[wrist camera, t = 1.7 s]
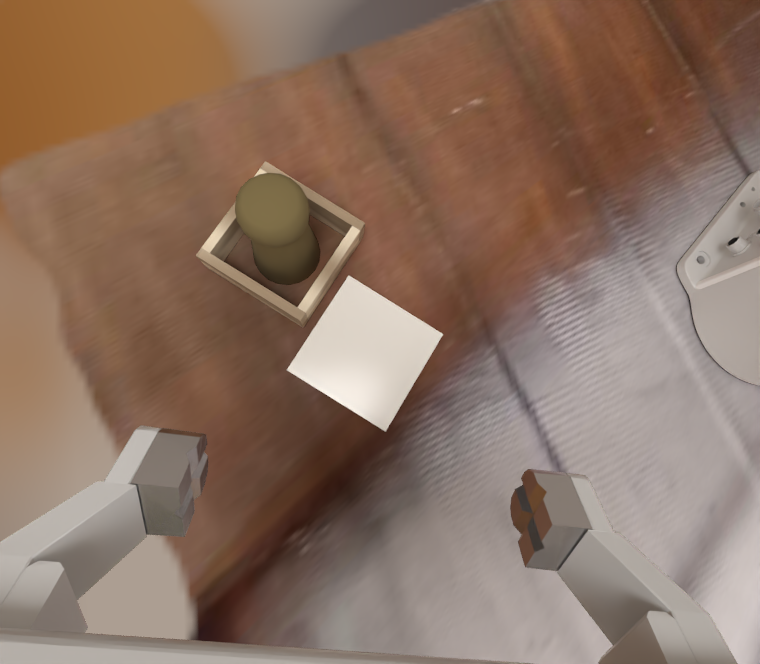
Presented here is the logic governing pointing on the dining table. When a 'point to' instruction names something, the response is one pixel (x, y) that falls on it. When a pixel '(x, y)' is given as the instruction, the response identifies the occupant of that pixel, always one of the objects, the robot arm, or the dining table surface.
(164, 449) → the robot arm
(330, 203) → the frame
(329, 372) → the ceramic tile
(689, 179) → the dining table surface
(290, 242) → the cork
